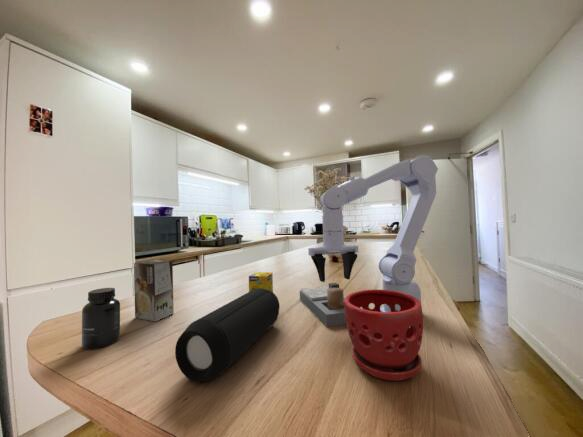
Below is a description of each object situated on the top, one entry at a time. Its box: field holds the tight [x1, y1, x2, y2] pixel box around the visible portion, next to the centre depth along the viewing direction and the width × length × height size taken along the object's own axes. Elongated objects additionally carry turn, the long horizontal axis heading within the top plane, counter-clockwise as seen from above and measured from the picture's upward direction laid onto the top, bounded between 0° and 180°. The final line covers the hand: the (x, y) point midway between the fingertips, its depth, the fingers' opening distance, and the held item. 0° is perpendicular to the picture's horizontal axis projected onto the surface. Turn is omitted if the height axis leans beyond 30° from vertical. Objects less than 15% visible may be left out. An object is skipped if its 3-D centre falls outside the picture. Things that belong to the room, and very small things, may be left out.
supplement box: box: [248, 271, 274, 293], centre depth 71 cm, size 6×6×11 cm
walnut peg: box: [327, 287, 345, 310], centre depth 65 cm, size 4×4×7 cm
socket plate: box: [299, 290, 347, 328], centre depth 70 cm, size 10×22×3 cm, turn 15°
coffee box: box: [133, 259, 175, 322], centre depth 69 cm, size 9×6×16 cm
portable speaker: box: [174, 288, 280, 383], centre depth 50 cm, size 26×10×10 cm, turn 159°
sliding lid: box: [300, 282, 340, 301], centre depth 75 cm, size 10×11×4 cm
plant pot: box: [344, 288, 424, 382], centre depth 42 cm, size 13×13×12 cm
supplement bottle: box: [81, 287, 121, 351], centre depth 53 cm, size 7×7×12 cm
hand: (334, 279), depth 65 cm, fingers open, 7 cm apart
